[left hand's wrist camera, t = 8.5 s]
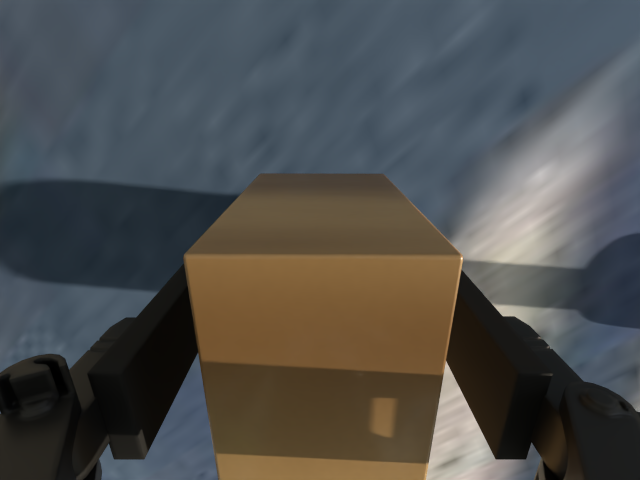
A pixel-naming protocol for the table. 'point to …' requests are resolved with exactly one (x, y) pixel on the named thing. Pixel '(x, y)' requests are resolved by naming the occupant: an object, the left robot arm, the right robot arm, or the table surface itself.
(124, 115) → the table surface
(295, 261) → the bar
